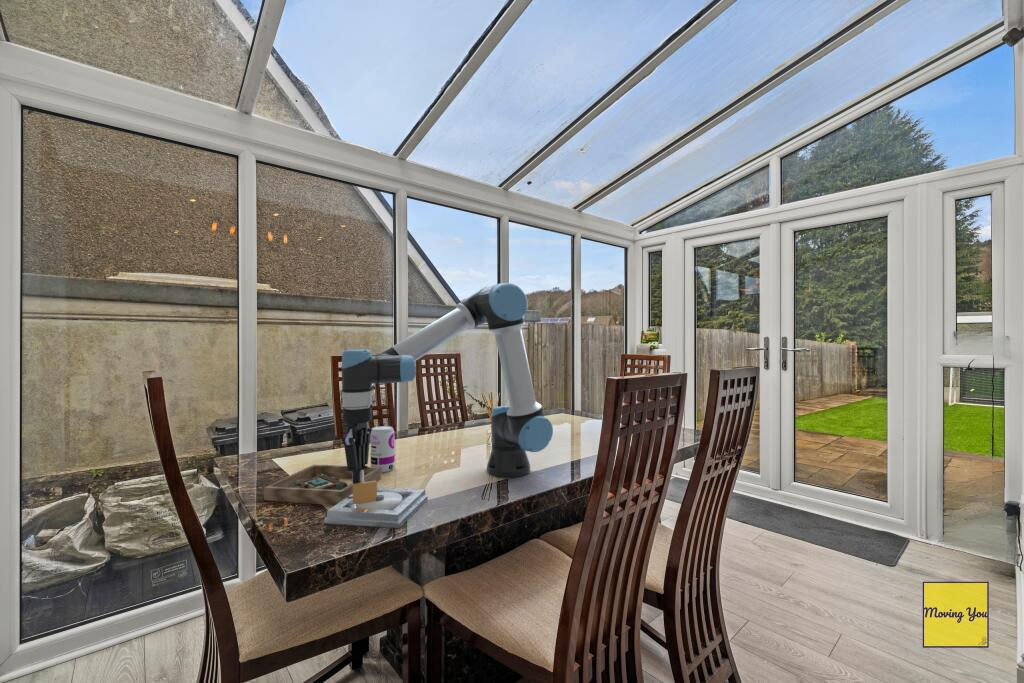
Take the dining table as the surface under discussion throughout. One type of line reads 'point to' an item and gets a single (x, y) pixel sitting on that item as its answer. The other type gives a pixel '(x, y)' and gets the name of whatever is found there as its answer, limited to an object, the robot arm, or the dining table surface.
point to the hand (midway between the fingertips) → (358, 494)
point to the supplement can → (382, 448)
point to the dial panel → (394, 518)
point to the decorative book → (321, 483)
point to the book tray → (287, 493)
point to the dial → (374, 497)
